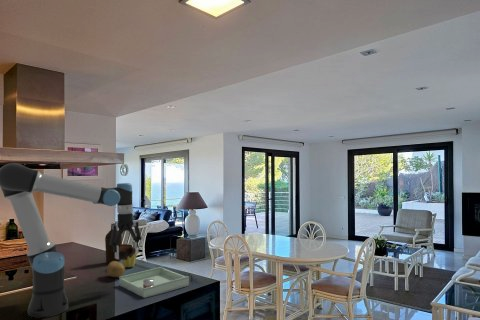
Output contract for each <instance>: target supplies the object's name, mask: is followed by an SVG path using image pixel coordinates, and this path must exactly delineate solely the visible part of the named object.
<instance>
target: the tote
mask: <svg viewBox="0 0 480 320" xmlns="http://www.w3.org/2000/svg"><path fill="white" fill-rule="evenodd" d="M118 278H119V281H118V283H119V284H118V285H119V286H120V287H121V288H123V289H126V290H128V291H130V292H131V293H134V294H136V295H137V296H139V297H142V298H144V299H146V298H149V297H154V296H157V295H160V294H164V293H168V292H172V291H174V290H179V289H182V288H184V287H188V286H190V276H188V275H183V274H181V273H178V272H174V271H172V270H169V269H167V268H165V267H164V266H159V267H154V268H150V269H147V270H142V271H138V272H134V273H130V274H125V275H122V276H120V277H118ZM145 279H154V286H150V287H146V288H143V280H145Z"/></svg>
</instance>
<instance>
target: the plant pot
mask: <svg viewBox="0 0 480 320" xmlns="http://www.w3.org/2000/svg"><path fill="white" fill-rule="evenodd" d="M137 256H138V254H137V255H135V254H134V255H133V256H132V257H131V258H129V256H128V258H127V260H121V261H122V264H123V265H124V267H125V268H131V267H132V268H133V267H134V266H136V265H135V264H136V260H137Z"/></svg>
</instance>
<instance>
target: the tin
mask: <svg viewBox="0 0 480 320" xmlns="http://www.w3.org/2000/svg"><path fill="white" fill-rule="evenodd" d="M150 286H154V279H145V280H143V288H146V287H150Z"/></svg>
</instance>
